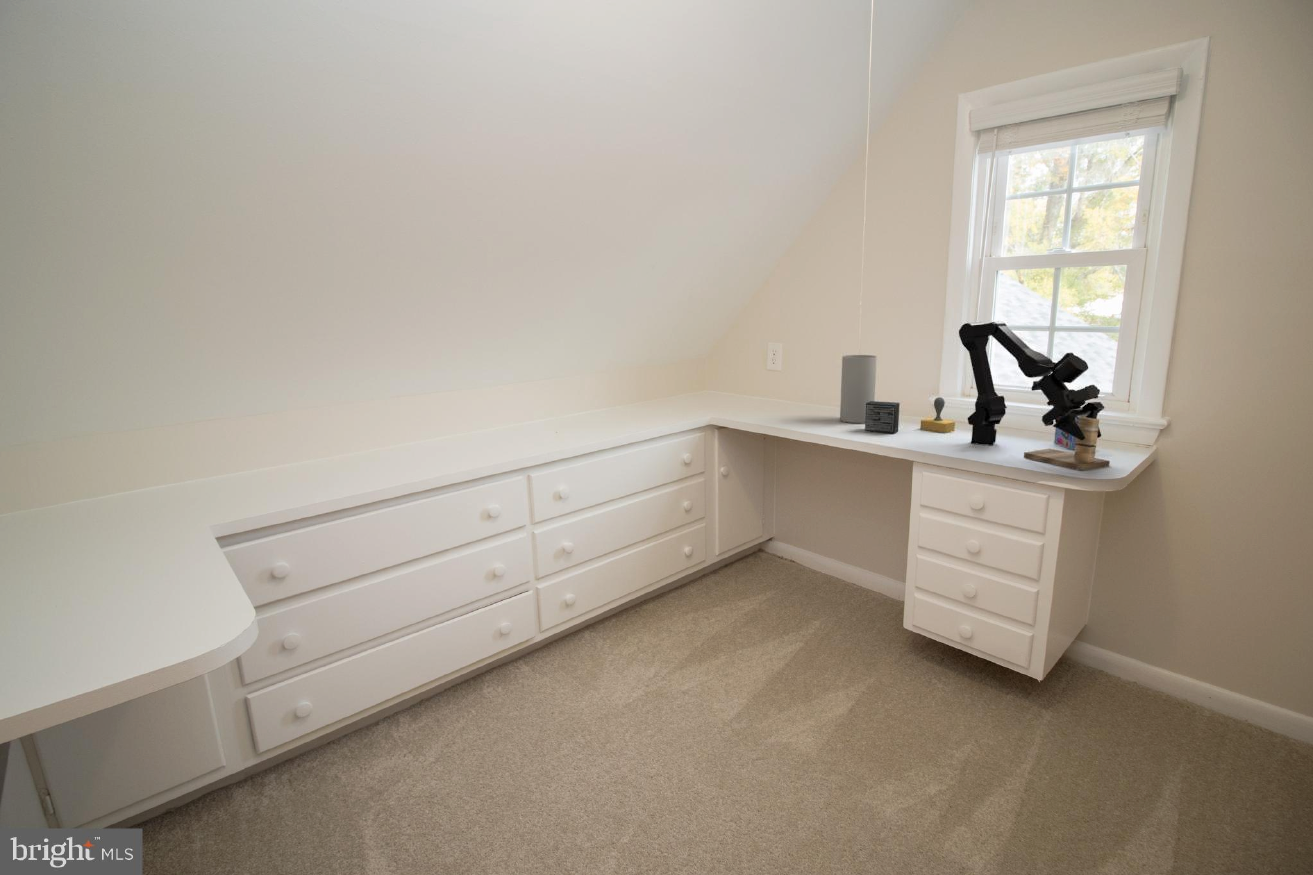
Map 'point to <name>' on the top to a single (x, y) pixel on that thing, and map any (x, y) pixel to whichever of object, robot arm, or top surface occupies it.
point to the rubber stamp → (938, 420)
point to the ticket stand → (1070, 457)
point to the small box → (882, 417)
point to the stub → (1088, 430)
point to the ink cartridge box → (1065, 438)
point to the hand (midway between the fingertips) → (1091, 438)
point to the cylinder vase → (857, 386)
